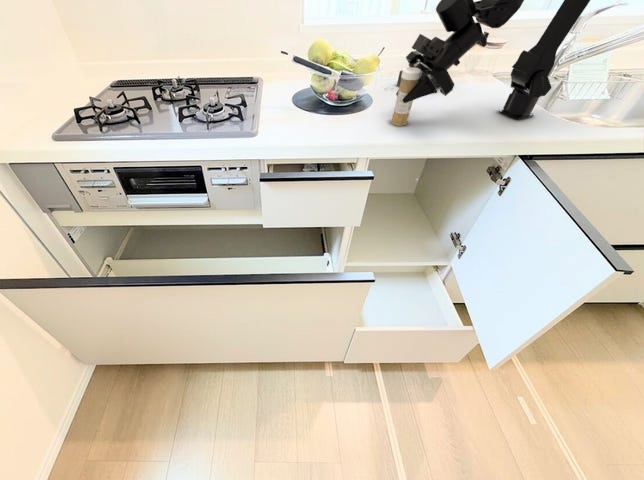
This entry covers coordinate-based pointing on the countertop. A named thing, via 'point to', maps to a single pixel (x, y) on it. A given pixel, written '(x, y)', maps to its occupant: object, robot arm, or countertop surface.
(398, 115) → the sprinkles bottle
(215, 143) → the countertop surface
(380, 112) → the countertop surface
